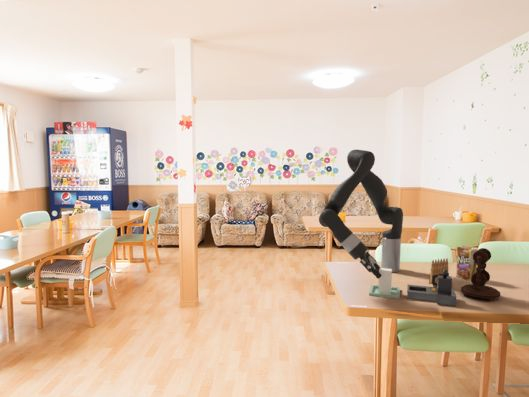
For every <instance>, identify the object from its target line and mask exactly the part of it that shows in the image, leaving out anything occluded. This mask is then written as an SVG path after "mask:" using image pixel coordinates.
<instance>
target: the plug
mask: <svg viewBox="0 0 529 397" xmlns="http://www.w3.org/2000/svg"><path fill="white" fill-rule="evenodd" d="M379 273H380V274H381V275H382V276H381V277H380V278H379V279H378V285H379V291H378V293H381V294H390V295H391V287H392V279H393V278H392V276H393V275H392V274H393V272H392V269H388V268H380V269H379Z"/></svg>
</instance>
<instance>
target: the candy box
mask: <svg viewBox="0 0 529 397" xmlns="http://www.w3.org/2000/svg"><path fill="white" fill-rule="evenodd" d="M456 248H457V249H456V272H455V276H456V278H460V279H461V280H465V281H467V282H471V283H472V281H471V276H472V271H473V266H474V260H473V254H474V253H475V252H476V251H478V250H479V249H475V248H472V247H467V246H464V245H461V246H457V247H456ZM476 268H477V264H476ZM476 268H475V273H476V272H477V271H476Z"/></svg>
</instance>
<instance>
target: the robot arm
mask: <svg viewBox="0 0 529 397" xmlns="http://www.w3.org/2000/svg"><path fill="white" fill-rule="evenodd" d="M346 158H347V159H346V162H347V164H348V167H349V168H350V169H351V171H352V172H353V173H352V174H351V175H350V176H349V177H348V178H347V179H345V180H344V181H342V182H341V183H340V184H339V185H337V187H336V188H335V189H334V191H333V193H332V194H331V197H330V198H329V199H328V202H327V204H326V205H325V207H324V208H323V210H322V212H321V213H320V214H319V216H318V222H319V225H321V226H322V227H323V228H328V229H329V230H330V231H331V232H332V236H333V237H334V238H335V239H336V240H337V242H338V243H339V244H340V245H341V246H342V247H343V249H344V250H345V251H346V252H347V253H348V254H349V255H350V257H352V259H353V260H358V259H360V261H359V263H360V264H361V265H362V266H363V267H364V268H365V269H366V270H367V271H368V272H369V273H371V274H372V275H374V276H375V278H376V279H377V280H379V278H380V277H381V276H382V275H381V274H380V273H379V269H380V268H388V269H392V273H398V272H401V245H402V243H401V242H402V232H403V223H404V222H403V221H404V212H403V209H402V208H401V207H400V206H399V207H397V206H388V205H387V204H386V203H385V201H386V199H387V196H388V190H387V187H386V184H384V182H383V180H382V179H381V178H380V177H379V176H378V175H377V174H375V173H374V172H373V171H372V168H373V167H374V165H375V161H376V159H375V158H376V157H375V155H374V153H373V152H372V151H370V150H369V151H368V150H362V149H352V150H350V151H349V152H348V154H347V157H346ZM358 185H361V186H362V187H363V189H364V191H365V193H366V195H367V196H368V198H369V199H370V201H371V203H372V205H373V207H374V208H375V211H376V213H377V216H378V218H379V220H380V222H381V223H382V224H385V225H390V226H391V228H390V229H388V230H383V232H381V234H382V238H381V240H382V241H381V264H380V265H381V266H380V265H379V264H378V261H377V260H376V259H375V258H374V257H373V255H371V254H370V253H369V252H368V251H367V250H368V249H369V248H368V246H366V244H365V243H364V242H363V241H362V240H361V239H360V238H359V237H358V236H357V235H356V234H354V232H352V231H351V229H349V227H348V226H347V225H345V223H344V221H343V220H342V219H341V216H340V215H339V214H340V212H341V211H342V209H343V208H344V207H345V205H346V204H347V202H348V200H349V198H350V197H351V195H352V194H353V192H354V191H355V189H356V188H357V187H358Z"/></svg>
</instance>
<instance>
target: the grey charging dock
mask: <svg viewBox="0 0 529 397" xmlns="http://www.w3.org/2000/svg"><path fill="white" fill-rule="evenodd" d="M406 286H407V287H406V288H407V290H406V293H407V294H406V296H407V297H406V298H407V300H415V301H425V302H433V303H436V305H439V306H447V307H448V306H449V307H457V297H458V296H457V294H456V291H455V289H454V288H452V287H453V278H452V276H450V275H449V276H447V270H446V269H443V276H441V275H438V280H437V286H427V285H418V284H417V285H416V284H415V285H414V284H407V285H406Z"/></svg>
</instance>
